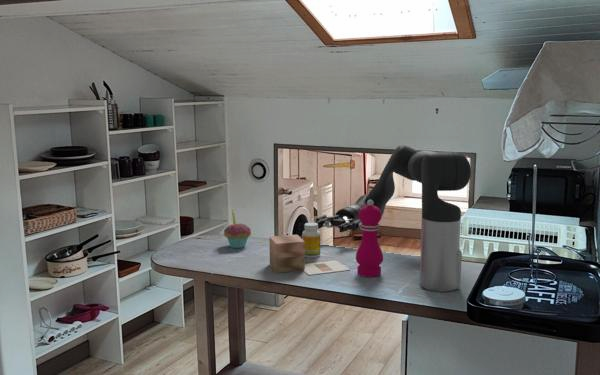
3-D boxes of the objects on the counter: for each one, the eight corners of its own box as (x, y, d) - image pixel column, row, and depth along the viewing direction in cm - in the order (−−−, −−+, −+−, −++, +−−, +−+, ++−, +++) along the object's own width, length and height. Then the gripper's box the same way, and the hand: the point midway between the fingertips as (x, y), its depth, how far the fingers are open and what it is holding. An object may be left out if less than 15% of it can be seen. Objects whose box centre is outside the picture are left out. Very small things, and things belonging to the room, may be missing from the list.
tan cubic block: (297, 261, 159) (297, 234, 158) (304, 270, 152) (304, 241, 150) (269, 264, 157) (269, 236, 156) (276, 272, 149) (275, 243, 148)
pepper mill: (382, 278, 144) (383, 202, 141) (354, 277, 146) (355, 201, 142) (383, 270, 151) (385, 197, 148) (356, 268, 153) (357, 196, 149)
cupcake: (240, 251, 170) (239, 212, 168) (218, 247, 175) (217, 209, 173) (256, 244, 177) (255, 207, 175) (235, 241, 182) (234, 205, 180)
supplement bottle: (300, 253, 167) (300, 222, 166) (317, 252, 168) (317, 221, 167) (304, 258, 162) (304, 226, 160) (322, 257, 163) (322, 225, 162)
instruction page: (336, 261, 160) (336, 260, 160) (350, 270, 151) (350, 269, 151) (297, 265, 155) (297, 264, 155) (308, 275, 147) (308, 274, 147)
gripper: (331, 204, 190) (308, 213, 177) (369, 208, 183) (349, 218, 170) (331, 225, 192) (308, 236, 178) (369, 230, 185) (348, 242, 171)
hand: (328, 227), depth 174 cm, fingers open, 8 cm apart
